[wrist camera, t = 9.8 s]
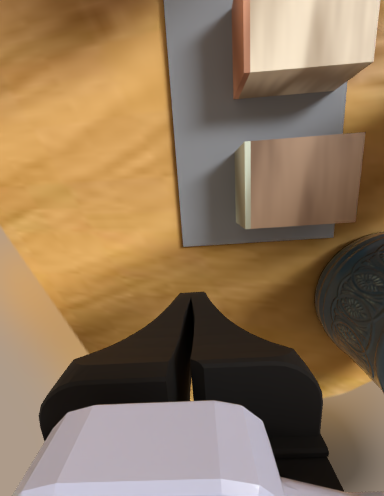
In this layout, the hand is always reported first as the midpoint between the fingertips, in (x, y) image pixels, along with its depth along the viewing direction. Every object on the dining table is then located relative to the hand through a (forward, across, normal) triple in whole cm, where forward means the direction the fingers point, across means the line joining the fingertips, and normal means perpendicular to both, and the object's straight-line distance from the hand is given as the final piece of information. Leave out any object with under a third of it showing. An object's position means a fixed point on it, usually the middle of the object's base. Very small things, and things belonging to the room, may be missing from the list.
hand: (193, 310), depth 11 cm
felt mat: (+10, -6, -11) cm, 16 cm away
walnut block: (+8, -4, -6) cm, 11 cm away
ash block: (+8, -4, -16) cm, 18 cm away
